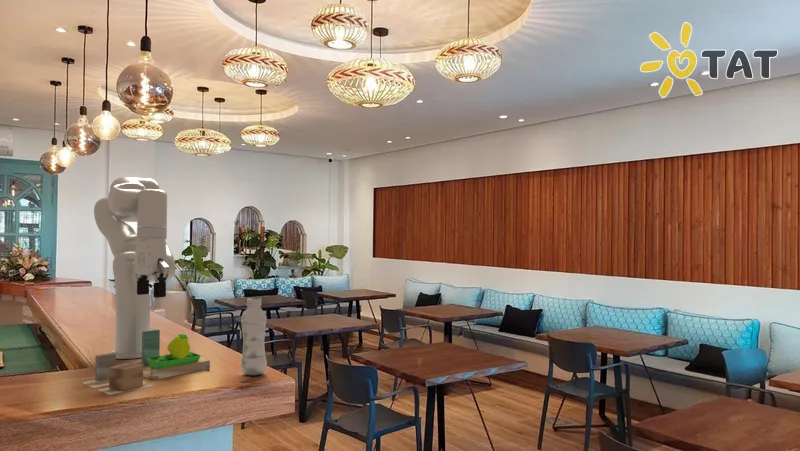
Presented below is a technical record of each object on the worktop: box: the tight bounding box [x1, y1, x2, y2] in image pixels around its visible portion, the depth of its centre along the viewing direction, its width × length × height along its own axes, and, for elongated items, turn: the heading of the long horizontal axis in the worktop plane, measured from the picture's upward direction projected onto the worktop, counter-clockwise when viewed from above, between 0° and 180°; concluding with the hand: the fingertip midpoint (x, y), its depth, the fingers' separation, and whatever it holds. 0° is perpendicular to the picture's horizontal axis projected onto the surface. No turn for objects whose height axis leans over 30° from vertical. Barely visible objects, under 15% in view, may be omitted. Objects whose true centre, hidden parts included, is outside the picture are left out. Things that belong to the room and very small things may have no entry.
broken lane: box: [82, 352, 154, 396], centre depth 130 cm, size 16×10×7 cm, turn 50°
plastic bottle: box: [240, 297, 268, 377], centre depth 144 cm, size 6×7×20 cm
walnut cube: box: [108, 362, 144, 393], centre depth 127 cm, size 5×5×5 cm
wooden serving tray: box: [134, 328, 211, 381], centre depth 146 cm, size 18×15×10 cm
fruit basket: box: [147, 333, 201, 371], centre depth 143 cm, size 11×9×11 cm
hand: (151, 295), depth 152 cm, fingers open, 9 cm apart
